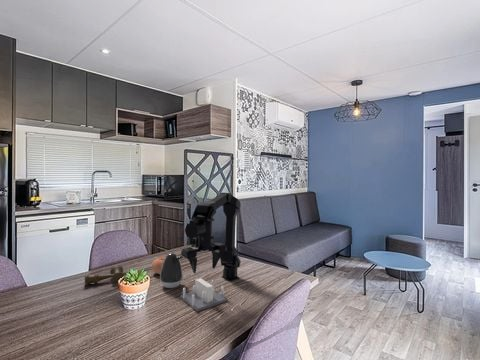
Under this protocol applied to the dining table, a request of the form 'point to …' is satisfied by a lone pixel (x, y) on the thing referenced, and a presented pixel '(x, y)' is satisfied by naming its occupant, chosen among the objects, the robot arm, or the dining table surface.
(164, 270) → the pump dispenser
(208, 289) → the tile
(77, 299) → the dining table surface
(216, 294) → the rack
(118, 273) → the kendama
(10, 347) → the dining table surface
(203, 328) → the dining table surface
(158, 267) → the tomato
